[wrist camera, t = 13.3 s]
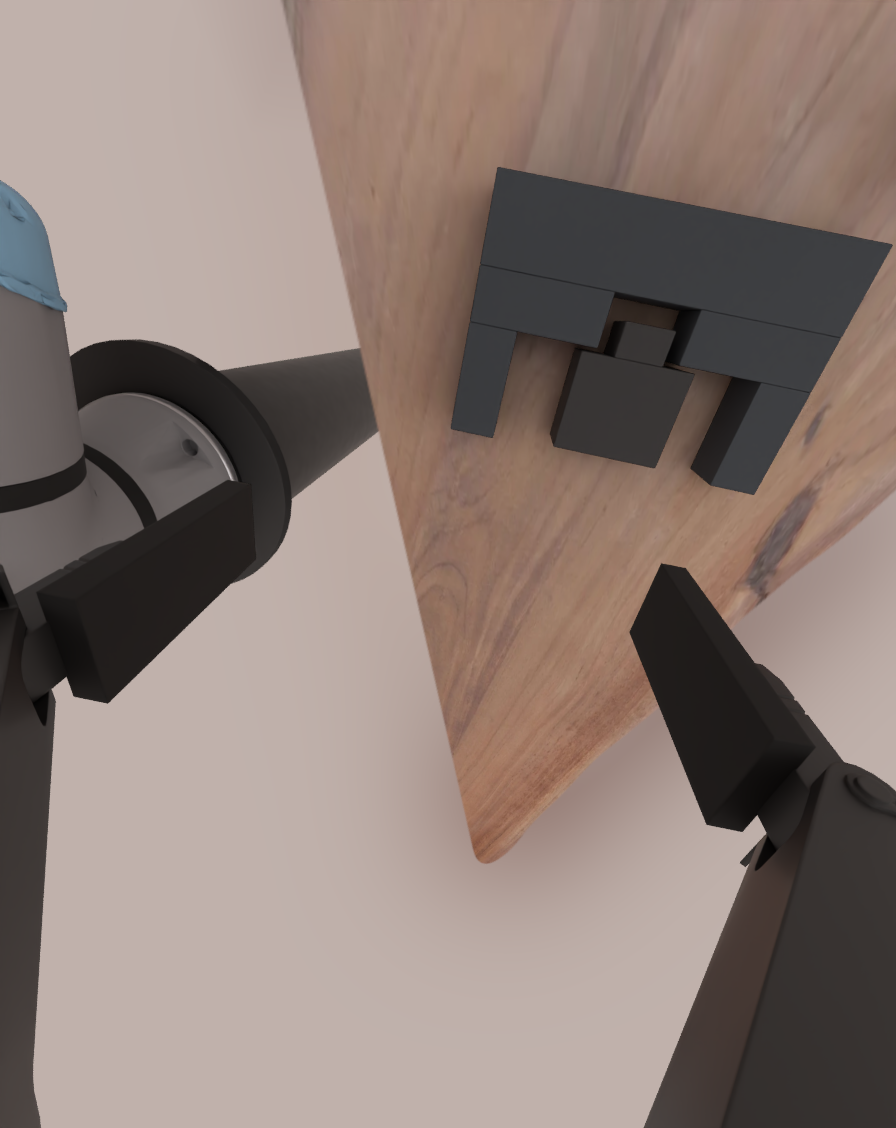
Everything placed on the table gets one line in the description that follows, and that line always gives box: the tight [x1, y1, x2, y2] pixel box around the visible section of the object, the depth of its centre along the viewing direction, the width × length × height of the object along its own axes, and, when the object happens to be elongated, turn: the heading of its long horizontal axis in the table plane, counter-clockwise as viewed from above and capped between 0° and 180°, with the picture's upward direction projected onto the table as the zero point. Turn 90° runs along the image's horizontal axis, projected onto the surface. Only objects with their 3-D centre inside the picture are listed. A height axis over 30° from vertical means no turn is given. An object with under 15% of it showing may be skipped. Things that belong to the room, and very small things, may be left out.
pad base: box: [451, 167, 893, 495], centre depth 29 cm, size 21×14×4 cm, turn 80°
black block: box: [550, 321, 695, 468], centre depth 30 cm, size 7×8×4 cm
